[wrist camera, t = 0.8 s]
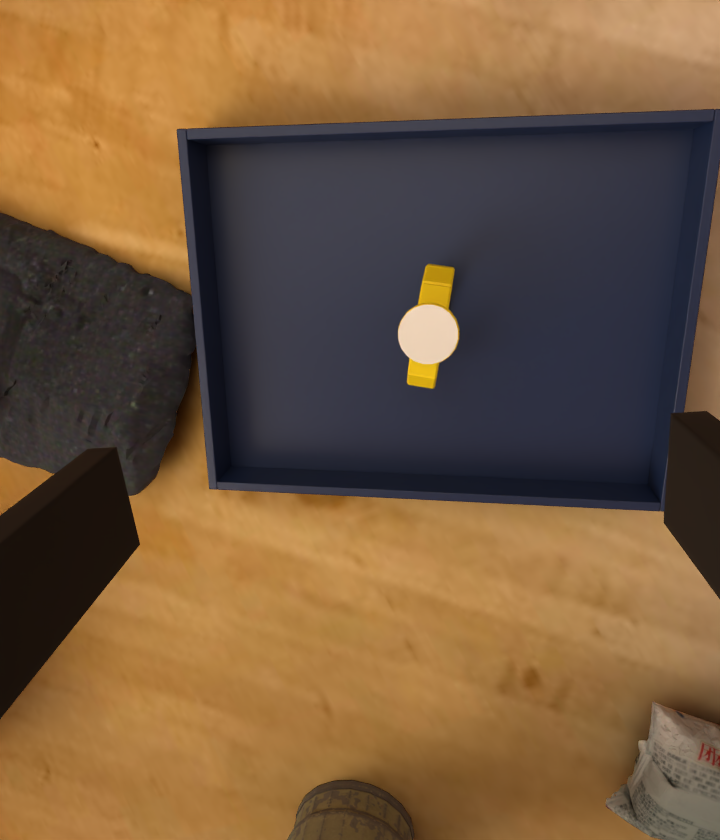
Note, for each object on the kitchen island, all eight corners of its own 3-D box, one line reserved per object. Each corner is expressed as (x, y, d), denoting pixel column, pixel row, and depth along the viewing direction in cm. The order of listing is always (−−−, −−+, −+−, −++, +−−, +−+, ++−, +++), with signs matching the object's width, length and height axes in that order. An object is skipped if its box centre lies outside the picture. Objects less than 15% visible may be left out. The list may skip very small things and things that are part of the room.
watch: (449, 377, 35) (447, 406, 30) (399, 369, 35) (388, 397, 30) (468, 266, 33) (470, 275, 28) (415, 258, 34) (407, 266, 28)
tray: (703, 118, 30) (727, 108, 27) (653, 489, 36) (670, 512, 33) (199, 136, 34) (176, 128, 31) (226, 470, 39) (208, 489, 37)
